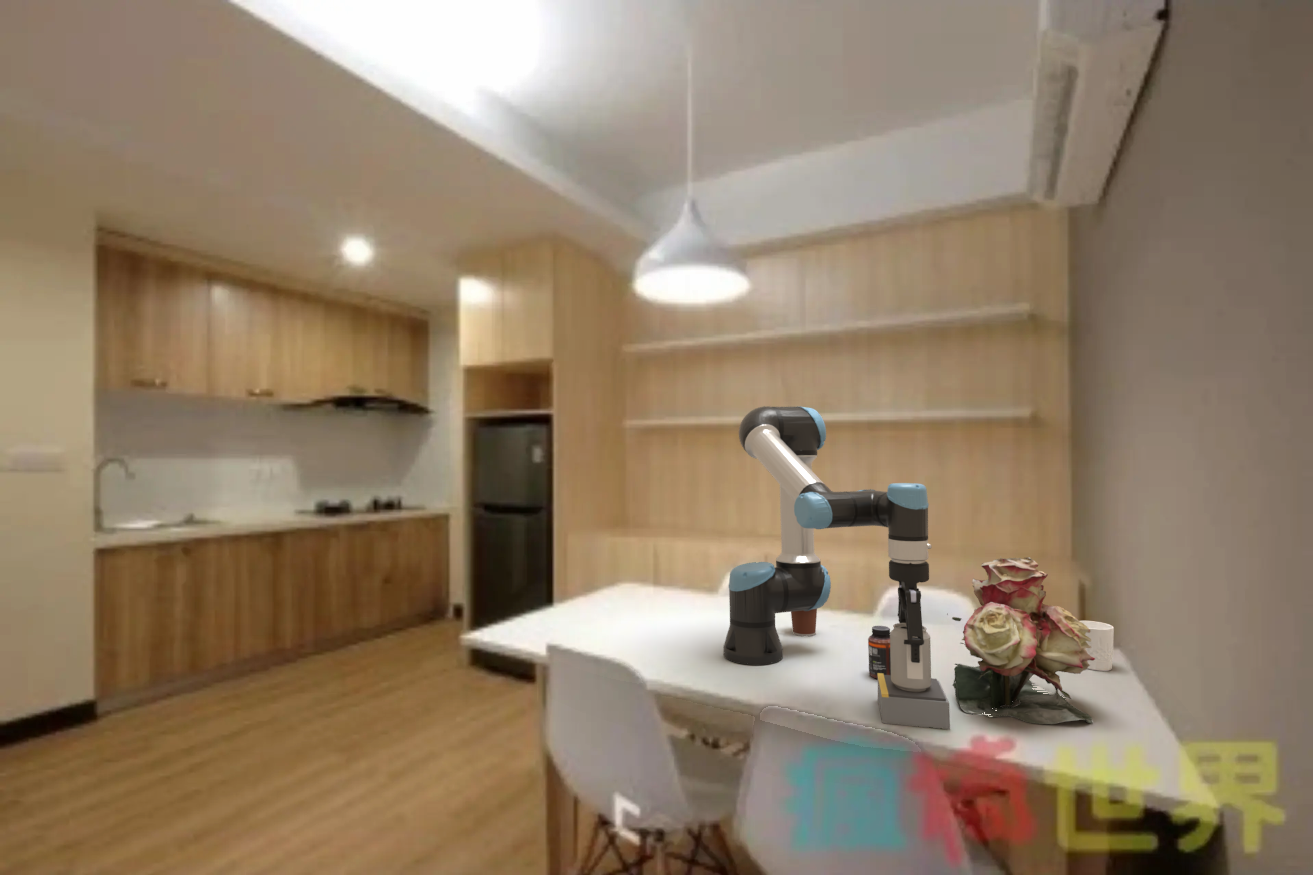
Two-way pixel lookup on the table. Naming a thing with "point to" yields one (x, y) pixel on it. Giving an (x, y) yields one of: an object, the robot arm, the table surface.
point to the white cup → (1100, 645)
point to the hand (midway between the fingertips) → (910, 666)
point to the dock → (913, 705)
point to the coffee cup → (804, 622)
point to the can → (900, 660)
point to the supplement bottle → (879, 651)
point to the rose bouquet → (1019, 647)
